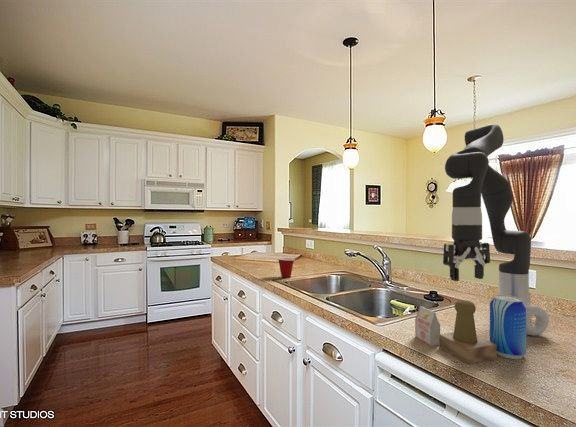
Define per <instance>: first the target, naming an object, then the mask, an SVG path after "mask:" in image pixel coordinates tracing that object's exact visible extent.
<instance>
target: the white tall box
mask: <svg viewBox="0 0 576 427" xmlns="http://www.w3.org/2000/svg"><path fill="white" fill-rule="evenodd" d="M437 316H438V315H437V314H436V312H435V311H432V310H431V309H428V308H427V307H424V306H422V305H419V307H418V311H417V313H416V316H415V319H414V320H415V321H414V322H415V325H414V326H415V329H414V330H415V331H414V334H415V336H414V337H415V338H416V339H418V340H420V342H423V343H424V344H426V345H428V346H429V347H431V346H439V334H441V324H440V322H439V319H438V317H437Z"/></svg>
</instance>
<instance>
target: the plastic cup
mask: <svg viewBox="0 0 576 427" xmlns="http://www.w3.org/2000/svg"><path fill="white" fill-rule="evenodd" d="M277 260H278V264H279V271H280V276H281V278H282V277H284V278H283V279H291V277H292V273H293V272H292V271H293V266H294V262H295V261H296V259H295V258H292V257H278V258H277Z"/></svg>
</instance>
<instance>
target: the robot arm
mask: <svg viewBox="0 0 576 427" xmlns="http://www.w3.org/2000/svg"><path fill="white" fill-rule="evenodd" d="M464 143H465V147H464V148H463V149H461V150H459V151H457V152H455V153H452V154H451V155H450V156H448V158H447V160H446V161H445V164H444V171H445V173H446V175H447V177H449V178H451V179H454V180H455V179H459V180H460V179H471V181H470V182H469V183H468V184H465V185H462V186H458V187H455V188H454V189H453V190H452V212H451V238H452V239H453V244H450V243H444V245H443V255H442V256H443V258H442V259H443V261H442V264H443V265H445V266H448V267H449V278H450V280H451V281H454V282H458V281H460V269H459V266H460V265H461V263H462V262H464V261H465V260H469V259H470V260H472V262H473V263H474V278H475V279H479V280H483V279H484V276H485V274H484V271H485V268H484V267H485V266H486V264H490V263H491V253H490V252H491V251H490V250H491V249H490V243H489V242H483V241H481V240H483V212H482V201H483V204H484V206H485V209H486V214H487V218H488V221H489V225H490V226H489V227H490V232H491V238H492V242H493V246H494V248H495V250H496V251H497V252H498V253H500V254H504V255H505V254H507V255H513V259H512V260H510V261H506V262H501V263H499V266H498V295H509V296H514V297H518V298H520V299H522V303H523V304H524V306H529V305H531V292H530V281H529V280H530V277H529V276H530V275H529V274H530V267H531V266H530V265H531V251H532V250H531V249H532V238H531V235H530V234H529V232H528V231H525V230H524V231H523V230H512V229H511V230H507V228H506V225H505V219H506V216H507V214H508V212H509V210H510V208H511V207H512V205H513V202H514V195H513V191H512V187H511V184H510V182H509V180H508V179H507V178H506V177H505V176H504V175H503V174H502V173H500V172H499V171H497V170H496V169H495V168H493V167H492V166H491V165H490V164H489V158H488V157H489V156H490V155H491V154H492V153H494V152H495V151H497V150H498V149H500V148H502V146H503V144H504V134H503V130H502V128H501V126H500V125H499V124H497V123H490V124H486V125H483V126H482V125H481V126H480V127H477V128H473V129H470V130H467V131H466V132H465V133H464Z"/></svg>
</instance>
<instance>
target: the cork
mask: <svg viewBox="0 0 576 427" xmlns="http://www.w3.org/2000/svg"><path fill="white" fill-rule="evenodd" d="M476 308H477V307H476V305H475V303H474V302H473V301H470V300H466V299H458V300H456V302H455V303H454V309H455V312H456V314H455V322H454V329H453V332H454V334H453V338H454V339H455V340H457V341H459V342H462V343H466V344H475V343H477V336H478V335H477V328H476V324H475V318H474V317H475V316H474V314H475V312H476V310H477V309H476Z"/></svg>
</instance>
